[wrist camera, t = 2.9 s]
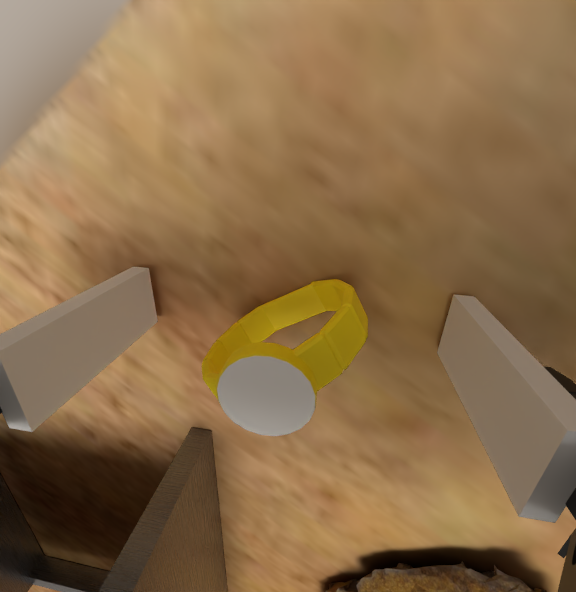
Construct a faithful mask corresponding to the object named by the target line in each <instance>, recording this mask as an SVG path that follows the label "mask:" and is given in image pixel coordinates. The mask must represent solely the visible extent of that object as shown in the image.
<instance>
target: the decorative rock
mask: <svg viewBox="0 0 576 592" xmlns="http://www.w3.org/2000/svg"><path fill="white" fill-rule="evenodd" d="M494 569H495V572H494V571H487V572H484V573H478V572H476V571H474V570H472V569H467V568H466V567H465V565H464V563H463V561H462V562H461V564H458V565H437V566H428V567H420V568H412V566H410V565H407V564H405V563H398V566H397V567H396V568H385V569H379V570H376V569H374V570H373V572H372V573H370V574H369V575H367V576H365V577H363V578H361V579H360V580H350V581H348V582H345V583H343V582H337V583H331V584H330V587H329V590H327V591H326V592H546V590H543V589H537V588H533V589H530V588H529V587H528V586H527V585H526V584H525V583H524V582H523V581H522V580H520V579H519V578H516V577H513V576H509V575H506V574H504V573H503V572H501V571H500V570H498V569H497V568H496V567H495V565H494Z"/></svg>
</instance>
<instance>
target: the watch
mask: <svg viewBox="0 0 576 592" xmlns="http://www.w3.org/2000/svg"><path fill="white" fill-rule="evenodd" d="M325 311H337V312H336V313H335V314H334V315H333V317H332V318H331V319H330V320H329V321H328V322H327V323H326V325H325V326H324V327H323V328H322V329H321V330H320V332H319V333H317V334H315V335H314V336H312V337H311V338H309V339H308V340H306V341H305V342H303V343H302V344H300V345H299V346H298V347H296V348H295V349H293V350H292V349H290V348H288V347H285V346H282V345H279V344H276V343H265V342H262V341H263V340H265V339H266V338H267V337H269V336H270V335H271V334H273V333H274V332H275V331H277V330H279V329H282V328H284V327H287V326H290V325H292V324H295V323H297V322H300V321H302V320H305V319H307V318H310V317H313V316H315V315H318V314H320V313H323V312H325ZM367 337H368V317H367V315H366V313H365V311H364V309H363V307H362V304H361V302H360V300H359V298H358V296H357V294H356V292H355V290H354V288H353V286H351V285H349V284H347V283H345V282H343V281H341V280H338V279H337V280H336V279H331V280H322V281H313V282H311V284H309V285H307V286H305V287H302V288H300V289H298V290H295V291H293V292H291V293H288V294H286V295H284V296H281V297H279V298H277V299H275V300H272V301H270V302H268V303H265V304H263V305H261V306H258V307H257V308H255V309H254V310H252V311H251V312H250V313H248V314H247V315H245V316H244V317H242V318H241V319H239V320H238V321H237V323H234V324H233V325H232V326H231V327H230V328H229V329H228V330H227V331H226V332H225V333H224V334H223V335H221V336H220V337H219V338H218V339H217V340H216V342H215V343H214V344H213V345H212V347H211V349H210V350H209V352H208V353H207V355H206V356H205V358H204V360H203V362H202V374H203V380H204V381H205V383H206V384H207V385H208V387H209V388H210V390H211V391H212V392H213V394H214V395H215V397H216V398H217V399H218V401H219V403H220V405H221V407H222V409H223V410H224V412H225V413H226V414H227V415H228V417H229V418H230V419H231V420H232V421H233V422H234V423H236V424H237V425H239V426H241V427H242V428H244V429H246V430H248V431H251V432H254V433H257V434H260V435H268V436H279V435H286V434H290V433H292V432H294V431H297V430H299V429H301V428H302V427H303V426H304V425H305V424H306V423H307V422H308V421H309V420H310V419H311V417H312V414H313V412H314V410H315V407H316V397H317V391H319V390H320V389H321V388H323V387H324V386H326V385H327V384H328V383H330V382H331V381H332V380H334V379H335V378H337V377H338V376H339V375H341V374H342V372H343V369H344V370H346V369H347V367H348V366H349V365H350V363H351V362H352V360H353V359H354V358H355V356H356V355H357V353H358V352H359V350H360V349H361V348H362V346H363V345H364V343H365V342H366V339H367Z"/></svg>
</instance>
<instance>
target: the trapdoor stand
mask: <svg viewBox="0 0 576 592" xmlns="http://www.w3.org/2000/svg"><path fill="white" fill-rule="evenodd" d="M33 584H34V585H38V586H42V587H45V588H49V589H53V590H57V591H61V592H228V591H227V581H226V571H225V561H224V552H223V542H222V532H221V522H220V512H219V502H218V492H217V483H216V473H215V463H214V453H213V443H212V433H211V431H210V430H203V429H197V428H191V430H190V431H189V433H188V435H187V437H186V438H185V440H184V442H183V444H182V445H181V447H180V449H179V451H178V453H177V454H176V456H175V458H174V460H173V461H172V463H171V465H170V467H169V468H168V470H167V472H166V474H165V475H164V477H163V479H162V481H161V482H160V484H159V486H158V488H157V489H156V491H155V493H154V495H153V497H152V498H151V500H150V502H149V504H148V505H147V507H146V509H145V511H144V512H143V514H142V516H141V518H140V519H139V521H138V523H137V525H136V526H135V528H134V530H133V532H132V533H131V535H130V537H129V539H128V541H127V542H126V544H125V546H124V548H123V549H122V551H121V553H120V555H119V556H118V558H117V560H116V562H115V563H114V565H113V567H112V569H111V570H110V572H109V571H105V570H101V569H97V568H93V567H89V566H85V565H80V564H76V563H72V562H68V561H64V560H60V559H56V558H52V557H48V556H45V555H44V554H43V552H42V550H41V548H40V546H39V544H38V542H37V541H36V539H35V537H34V535H33V533H32V531H31V530H30V528H29V526H28V524H27V522H26V520H25V518H24V517H23V515H22V513H21V511H20V509H19V507H18V505H17V504H16V502H15V500H14V498H13V496H12V494H11V492H10V491H9V489H8V487H7V485H6V483H5V481H4V480H3V478H2V476H1V474H0V592H28V590H29V589H30V587H31V586H32V585H33Z"/></svg>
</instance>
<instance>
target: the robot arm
mask: <svg viewBox="0 0 576 592" xmlns="http://www.w3.org/2000/svg"><path fill="white" fill-rule="evenodd" d="M157 322H158V320H157V314H156V308H155V302H154V297H153V291H152V285H151V279H150V273H149V268H143V267H131V268H129V269H127V270H125V271H123V272H121V273H120V274H118V275H116V276H114V277H112V278H110V279H108V280H106V281H104V282H102V283H100V284H98V285H96V286H94V287H92V288H90V289H88V290H86V291H84V292H82V293H80V294H78V295H76V296H74V297H72V298H70V299H69V300H67V301H65V302H63V303H61V304H59V305H57V306H55V307H53V308H51V309H49V310H47V311H45V312H43V313H41V314H39V315H37V316H35V317H33V318H31V319H29V320H27V321H25V322H23V323H21V324H20V325H18V326H16V327H14V328H12V329H10V330H8V331H6V332H4V333H2V334H0V413H2V414H3V416H4V418H5V420H6V422H7V424H8V426H9V428H12V429H18V430H24V431H29V432H33V431H34V430H35V429H36V428H37V427H39V426H40V425H41V424H42V423H43V422H44V421H45V420H46V419H48V418H49V417H50V416H51V415H52V414H53V413H54V412H56V411H57V410H58V409H59V408H60V407H61V406H62V405H64V404H65V403H66V402H67V401H68V400H69V399H70V398H71V397H73V396H74V395H75V394H76V393H77V392H78V391H79V390H81V389H82V388H83V387H84V386H85V385H86V384H87V383H89V382H90V381H91V380H92V379H93V378H94V377H95V376H97V375H98V374H99V373H100V372H101V371H102V370H103V369H104V368H106V367H107V366H108V365H109V364H110V363H111V362H112V361H114V360H115V359H116V358H117V357H118V356H119V355H120V354H122V353H123V352H124V351H125V350H126V349H127V348H128V347H129V346H131V345H132V344H133V343H134V342H135V341H136V340H137V339H139V338H140V337H141V336H142V335H143V334H144V333H145V332H147V331H148V330H149V329H150V328H151V327H152V326H153V325H155V324H156V323H157ZM437 354H438V356H439V358H440V360H441V362H442V364H443V366H444V368H445V370H446V372H447V374H448V376H449V378H450V380H451V382H452V384H453V386H454V388H455V390H456V392H457V394H458V396H459V398H460V400H461V402H462V404H463V406H464V408H465V410H466V412H467V414H468V416H469V418H470V420H471V422H472V424H473V426H474V428H475V430H476V432H477V434H478V436H479V438H480V440H481V442H482V444H483V446H484V448H485V450H486V452H487V454H488V456H489V458H490V460H491V462H492V464H493V466H494V468H495V470H496V472H497V474H498V476H499V478H500V480H501V482H502V484H503V486H504V488H505V490H506V492H507V494H508V496H509V498H510V500H511V502H512V504H513V506H514V508H515V510H516V512H517V514H518V516H519V517H525V518H530V519H536V520H542V521H548V522H553V523H555V522H556V521H557V519H558V518H559V516H560V515H561V513H562V511H563V510H564V508H565V507H566V506H567V507H568V509H569V510H570V512H571V513H572V515H573V517H574V518H575V520H576V384H575V383H573V382H572V381H571V380H570V379H569V378H567V377H565V376H564V375H562V374H561V373H559V372H557V371H556V370H554V369H553V368H551V367H543V366H542V365H541V364H540V363H539V362H538V361H537V360H536V359H535V358H534V357H533V356H532V355H531V354H530V353H529V352H528V350H527V349H526V348H525V347H524V346H523V345H522V344H521V343H520V342H519V341H518V340H517V339H516V338H515V337H514V336H513V335H512V334H511V333H510V332H509V331H508V330H507V329H506V328H505V327H504V326H503V325H502V324H501V323H500V322H499V321H498V320H497V319H496V318H495V317H494V316H493V315H492V314H491V313H490V312H489V311H488V310H487V309H486V308H485V307H484V306H483V305H482V304H481V303H480V302H479V301H478V300H477V299H476V298H475V297H474V296H465V295H453V298H452V302H451V305H450V309H449V312H448V316H447V319H446V323H445V326H444V330H443V334H442V337H441V341H440V344H439V348H438V351H437ZM558 554H559V555H560V556H562V557H563V558H564V557H565V556H566V559H565V563H564V567H563V572H562V576H561V580H560V584H559V588H558V592H576V529H575V530H574V531H573V533H572V534H571V536H570V537H569V538H568V540H567V541H566V543H565V544H564V545H563V547H562V548H561V549H560V551H559V552H558Z"/></svg>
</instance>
